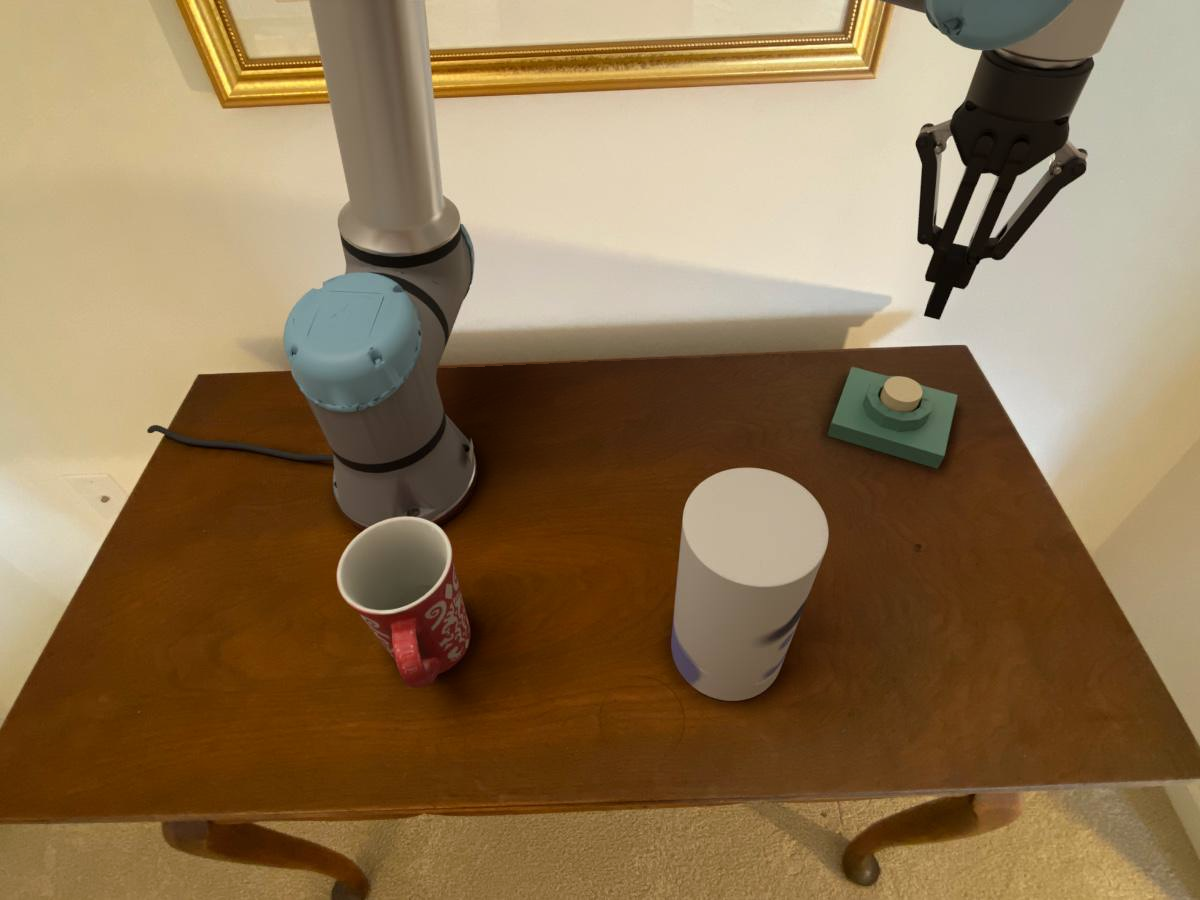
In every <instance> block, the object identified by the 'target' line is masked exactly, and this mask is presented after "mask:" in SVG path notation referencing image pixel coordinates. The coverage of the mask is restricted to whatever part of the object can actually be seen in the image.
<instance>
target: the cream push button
mask: <svg viewBox="0 0 1200 900" xmlns="http://www.w3.org/2000/svg"><path fill="white" fill-rule="evenodd" d="M896 376H897V377H892V378H890V379H888V380H887V381H886V382H885V384H884V387H883V390H882V392H881V395H880V399H881V402H882V403H883V404H884V405H885V406H886V407H888V408H889V409H890V410H894V411H897V412H901V413H906V412H911V411H913V410H915V409H916V407H917V406H918V403H919V401H920V399H921V396H922V393H923V392H922V388H921V386H920V385H921V384H920V383H919V382H917V381H916V380H914V379H912V378H910V377H907V376H902V375H901V376H900V375H896ZM918 383H919V384H920V385H919V384H918Z"/></svg>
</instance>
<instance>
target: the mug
mask: <svg viewBox="0 0 1200 900" xmlns="http://www.w3.org/2000/svg"><path fill="white" fill-rule="evenodd" d="M451 543H452V542H451V540H450V538H449V537H448V535H447V533H446V532H445V531H444V530H443V529H442V528H441V526H438V525H436V524H435V523H433V522H431V521H429V520H426V519H423V518H418V517H410V516H403V517H395V518H390V519H387V520H383V521H381V522H378V523H376V524H374V525H372V526H370V527H368V528H367V529H365V530H364V531H361V532H360V533H358V534H357V535H356V536H355V537H354V538H353V539H352V540H351V541H350V542H349V543H348V544H347V546H346V547H345V549H344V550H343V552H342V554H341V556H340V558H339V561H338V564H337V568H336V577H335V578H336V586H337V589H338V592H339V594H340V596H341V598H342V599H343V600H344V601H345V603H347V604H348V605H349V606H350V607H351V608H353V609H355V611H356V612H357V613H358V615H359V616H360V618H361V619H362V620H363V621H364V623H366V624H365V625H367V626H368V627H369V629H370V630H371V631H372V632H373V634H374V635H375V637H376V638H377V639H378V641H379V642H380V643H381V645H383V647H384V648H385V650H386V651H387V652H388V653H389V654H390V656H391V657H392V658H393V660H394V661H395V663H396V667H397V669H398V673H399V675H400V677H401V678H402V680H403V682H404V684H405V685H407V687H409V688H412V689H413V688H420V687H424V686H426V685H430V684H431V683H433V682H434V681H435V679H436V678H437V676H438V675H439V674H442V673H444V672H447V671H448V670H450V669H451V668H453V667H454V666H455V665H457V664H458V663H459V662H460V661H461V659H462V658H463V657H464V655H465V654H466V652H467V650H468V647H469V644H470V640H471V626H470V622H469V618H468V615H467V611H466V607H465V604H464V599H463V594H462V591H461V588H460V583H459V580H458V575H457V572H456V567H455V564H454V560H453V555H454V554H453V547H452V544H451Z"/></svg>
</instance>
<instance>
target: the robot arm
mask: <svg viewBox="0 0 1200 900" xmlns="http://www.w3.org/2000/svg"><path fill="white" fill-rule="evenodd" d="M879 1H880V2H882V3H887V4H890V5H894V6H898V7H900V8H904V9H908V10H912V11H915V12H919V13H922V14H925V16H926V18H927V20H928V22H929V23H930V24H931V26H932V27H933V28H935V29H936V30H938V31H939V32H940V33H941V34H942V35H944V36H946V37H947V38H948V39H949V40H950V41H951V42H953V43H954V44H956V45H958V46H960V47H962V48H965V49H969V50H974V51H981V53H980V56H979V58H978V62H977V63H976V67H975V69H974V73H973V76H972V78H971V81H970V84H969V87H968V90H967V93H966V96H965V98H964V101H962V103H961V104H960V105H959V106H958V107H957V108H956V109H955V110H954V112H953V114H952V116H951V119H950V118H949V119H948V120H945V121H943V122H940V123H938V124H933V123H930V122H927V123H925V124H923V125H922V126H921V128H920V130H919V132H918V135H917V137H916V139H915V143H914V144H915V148H916V151H917V154H918V157H919V160H920V163H921V173H920V185H919V186H920V187H919V204H918V216H917V217H918V218H917V234H916V239H917V242H918V243H919V244H920V245H923V246H924V245H927V246H929V247H930V248H931V249H932V252H933V253H932V255H931V257H930V260H929V263H928V265H927V268H926V272H925V274H924V279H925V280H924V281H925V282H929V283H933V287H932V290H931V292H930V294H929V297H928V299H927V303H926V306H925V310H924V312H923V317H926V318H930V319H934V320H939V321H940V320H941V317H942V316H943V313H944V310H945V308H946V306H947V303H948V301H949V299H950V296H951V294H952V291H953V288H955V289H959V290H965V289H966V288H967V287H968V286H969V284H970V282H971V279H972V278H973V275H974V273H975V271H976V268H977V266H979V264H980V262H981V261H982V260H985V259H992V260H994V261H1002V260H1003V259H1004V258H1006V256H1007V255H1008V254H1009V253H1010V252H1011V250H1012V249H1014V247H1015V246H1016V244H1017V243H1018V242H1019V241H1020V240H1021V239H1022V237H1024V235H1025V233H1027V232H1028V230H1029V229H1030V228H1031V226H1033V224H1034V223H1035V221H1036V220H1037V219H1038V218H1039V217H1040V215H1041V214H1042V213H1043V212H1044V211H1045V210H1046V208H1047V207H1048V206H1049V205H1050V203H1051V202H1052V201H1053V200H1054V198H1056V196H1057V195H1058V194H1059V192H1060V191H1061V190H1062V189H1064V188H1065V187H1067V186H1068V185H1070V184H1071V183H1073V182H1074V181H1076V180H1078V179H1079V178H1080V177H1083V175H1084V174H1085V173H1086V172H1087V166H1088V151H1087V150H1086V149H1084V148H1081V147H1080V148H1077V147H1076V146H1075V145H1074V144H1073V143H1072V142H1071V140H1069V137H1070V119H1071V116H1072V114H1073V111H1074V110H1075V108H1076V106H1077V103H1078V101H1079V99H1080V97H1081V94H1082V92H1083V91H1084V88H1085V86H1086V85H1087V82H1088V80H1089V77H1090V75H1091V74H1092V71H1093V69H1094V67H1095V61H1094V56H1095V55H1097V54H1099V53H1101V51H1102V50H1103V48H1104V47H1105V45H1106V42H1107V40H1108V38H1109V35H1110V33H1111V31H1112V29H1113V27H1114V25H1115V23H1116V20H1117V19H1118V16H1119V13H1120V11H1121V10H1122V7H1123V5H1124V2H1125V1H1126V0H879ZM309 6H310V7H309V8H310V12H311V17H312V21H313V26H314V31H315V36H316V41H317V46H318V51H319V55H320V60H321V65H322V71H323V76H324V81H325V84H326V85H325V86H326V91H327V95H328V99H329V105H330V110H331V114H332V119H333V124H334V130H335V134H336V140H337V145H338V149H339V154H340V160H341V164H342V169H343V174H344V178H345V184H346V188H347V193H348V198H349V200H348V201H347V202H346V203H345V204H344V205H343V206H342V208H341V209H340V211H339V213H338V215H337V228H338V232H339V236H340V241H341V246H342V251H343V255H344V260H345V272H344V273H343V274H340V275H336V276H334V277H331V278H328V279H325V281H323V282H322V287H321V288H314V287H313V288H311V289H309V290H308V291H307V292H305V293H304V294H303V295H302V296H301V297H300V299H298V301H297V302H296V303H295V304H294V306H293V307H292V309H291V310H290V311H289V313H288V316H287V319H286V321H285V324H284V327H283V336H282V337H283V338H282V339H283V340H282V341H283V348H284V352H285V355H286V358H287V360H288V364H289V368H290V371H291V375H292V378H293V381H294V382H295V384H296V386H297V387H298V389H299V390H300V392H301V394H303V396H304V398H305V401H306V403H307V404H308V406H309V408H310V410H311V412H312V414H313V417H314V418H315V420H316V422H317V424H318V425H319V428H320V430H321V431H322V434H323V436H324V437H325V440H326V441H327V443H328V446H329V447H330V449H331V451H332V453H333V454H305V453H304V454H303V453H294V452H289V451H283V450H279V449H275V448H271V447H266V446H261V445H255V444H252V443H251V444H250V443H244V442H238V441H237V442H236V441H225V440H209V439H199V438H193V437H187V436H184V435H181V434H178V433H176V432H174V431H173V430H170V429H168V428H166V427H164V426H162V425H159V424H153V425H149V427H148V428H147V430H146V432H147V433H149V434H153V433H155V432H158V433H160V434H162V435H163V436H164V435H165V436H167V437H168V438H171V439H173V440H174V441H177V442H180V443H182V444H187V445H192V446H199V447H205V448H207V447H208V448H220V449H234V450H243V451H250V452H254V453H260V454H264V455H268V456H273V457H277V458H282V459H287V460H294V461H299V462H300V461H301V462H331V463H333V468H334V470H333V475H332V491H333V496H334V499H335V501H336V503H337V505H338V507H339V509H340V511H341V513H342V515H343V516H344V517H345V519H346V520H347V521H348V522H349V524H351V525H352V526H353V527H354V528H356V529H358V530H359V531H361V532H362V531H364V530H365V529H367V528H368V527H370V526H372V525H374V524H376V523H378V522H381V521H383V520H387V519H390V518H395V517H403V516H410V517H418V518H423V519H426V520H429V521H431V522H433V523H435V524H436V525H438V526H439V527H441V526H443V525H444V524H446V523H447V522H449V521H450V520H452V519H453V518H455V516H456V515H458V514H459V513H460V512H461V511H462V510H463V509H464V507H465V506H466V505H467V504H468V502H469V501H470V499H471V498H472V496H473V494H474V492H475V489H476V486H477V482H478V476H479V469H478V468H479V467H478V463H477V460H476V459H477V458H476V455H475V451H474V444H473V439H472V438H470V440H469V439H468V438H467V436H466V435H465V434H464V433H463V432H462V431H461V430H460V429H459V428H458V426H457V425H456V424H455V423H454V422H453V420H451V419H450V417H448V415H447V414H446V412H445V408H444V404H443V402H442V398H441V395H440V391H439V388H438V384H437V372H438V369H439V366H440V363H441V360H442V358H443V355H444V352H445V350H446V347H447V344H448V342H449V339H450V337H451V334H452V331H453V328H454V326H455V323H456V321H457V319H458V317H459V316H458V315H459V313H460V310H461V307H462V305H463V302H464V301H465V299H466V297H467V296H468V293H469V291H470V290H471V285H472V283H473V279H474V272H475V271H474V269H475V249H474V245H473V244H474V243H473V242H472V239H471V236H470V233H469V231H468V230H467V228H466V226H465V225H464V224H463V223H462V221H461V215H460V211H459V209H458V207H457V206H456V205H455V203H454V202H453V201H452V200H451V199H449V198H448V197H447V196H445V195H444V193H443V183H442V172H441V161H440V149H439V139H438V128H437V117H436V105H435V96H434V85H433V83H434V82H433V73H432V62H431V53H430V52H431V51H430V41H429V40H430V39H429V30H428V28H429V27H428V19H427V7H426V0H309ZM950 137H952V138H953V141H954V144H955V147H956V150H957V152H958V155H959V158H960V161H961V163H962V164H963V166H964V167H965V168H964V171H963V173H962V175H961V178H960V182H959V184H958V186H957V189H956V192H955V194H954V198H953V199H952V202H951V204H950V207H949V209H948V213H947V215H946V218H945V220H944V223H943V225H942V227H940V226H938V225H937V218H938V217H937V216H938V206H939V193H940V182H941V169H942V156H943V153H944V152H945V151H946V150H947V146H948V144H949V139H950ZM1052 155H1054V156H1053V157H1052V158H1051V159H1050V161H1049V165H1048V166H1049V167H1048V169H1047V170H1046V172H1045V173H1044V174H1043V175H1042V176H1041V178H1040V179H1039V180H1038V182H1037V183H1036V184H1035V185H1034V187H1033V188H1032V189H1031V191H1030V192H1029V193H1028V194H1027V196H1026V197H1025V198H1024V199H1023V201H1022V202H1021V203H1020V204H1019V206H1018V207H1017V208H1016V210H1015V211H1014V212H1013V213H1012V214H1011V216H1010V217H1009V219H1008V220H1006V222H1005V223H1004V225H1002V228H1001V229H1000V230H999V231H998V233H996V235H995V236H994V237H991V236H992V233H993V230H994V229H995V226H996V224H997V222H998V220H999V218H1000V214H1001V212H1002V210H1003V208H1004V206H1005V204H1006V201H1007V199H1008V197H1009V194H1010V193H1011V191H1012V189H1013V187H1014V184H1015V182H1016V180H1017V177H1019V176H1021V175H1023V174H1025V173H1027V172H1028V171H1030V170H1031V169H1033V168H1034V167H1036V166H1037V165H1038V164H1040V163H1042V162H1043V161H1045V160H1046V159H1047V158H1049V157H1051V156H1052ZM983 174H991V175H993V176H995V179H994V181H993V184H992V187H991V189H990V191H989V194H988V196H987V198H986V201H985V203H984V206H983V207H982V211H981V213H980V216H979V218H978V221H977V223H976V225H975V228H974V229H973V232H972V234H971V237H970V239H969V243H968V245H964V244H959V243H954V242H955V239H956V237H957V234H958V232H959V230H960V228H961V224H962V222H963V219H964V217H965V214H966V212H967V209H968V207H969V205H970V202H971V200H972V197H973V195H974V191H975V190H976V187H977V185H978V183H979V181H980V178H981V175H983Z"/></svg>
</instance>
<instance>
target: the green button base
mask: <svg viewBox="0 0 1200 900" xmlns="http://www.w3.org/2000/svg"><path fill="white" fill-rule="evenodd" d="M897 376H898V375H884V374H882V373H881V374H880V373H877V372H874V371H871V370H870V371H869V370H866V369H862V368H859V367H855V366H851V367H850V370H849V373H848V375H847V378H846V380H845V384H844V386H843V389H842V392H841V395H840V397H839V400H838V403H837V406H836V409H835V411H834V414H833V417H832V420H831V422H830V425H829V429H828V432H827V436H828V437H830V438H833V439H837V440H840V441H844V442H846V443H850V444H853V445H857V446H860V447H863V448H867V449H870V450H873V451H876V452H880V453H883V454H887V455H890V456H893V457H895V458H900V459H903V460H906V461H910V462H912V463H915V464H920V465H923V466H926V467H930V468H933V469H936V470H938V469H939V467H941V464H942V462H943V460H944V458H945V456H946V450H947V447H948V441H949V437H950V433H951V428H952V424H953V418H954V416H955V415H954V414H955V411H956V410H955V409H956V406H957V401H958V394H955V393H952V392H947V391H944V390H940V389H937V388H932V387H929V386H926V385H922V384H920V383H919V382H917V383H918V384H919V385H920V386H921V388H922V392H923V393H922V396H921V399H920V401H919V403H918V406H917V407H916V409H915V410H913V411H911V412H906V413H901V412H897V411H894V410H890V409H889V408H888V407H886V406H885V405H884V404H883V403H882V402H881V399H880V395H881V392H882V390H883V387H884V384H885V382H886V381H887V380H888V379H890V378H892V377H897Z"/></svg>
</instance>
